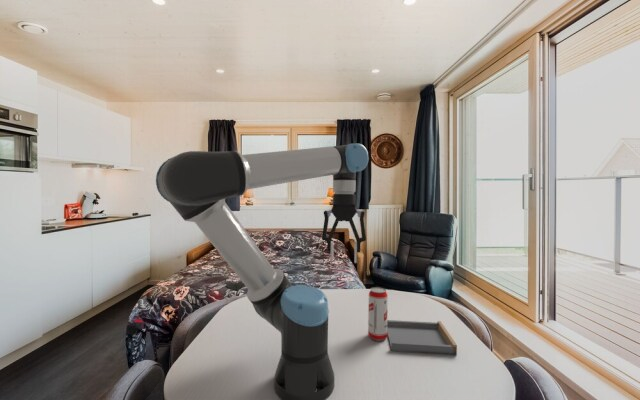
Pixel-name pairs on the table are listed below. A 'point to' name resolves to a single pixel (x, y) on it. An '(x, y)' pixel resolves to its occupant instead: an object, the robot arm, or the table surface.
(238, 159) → the robot arm
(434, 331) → the tray
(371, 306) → the beer can
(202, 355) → the table surface
